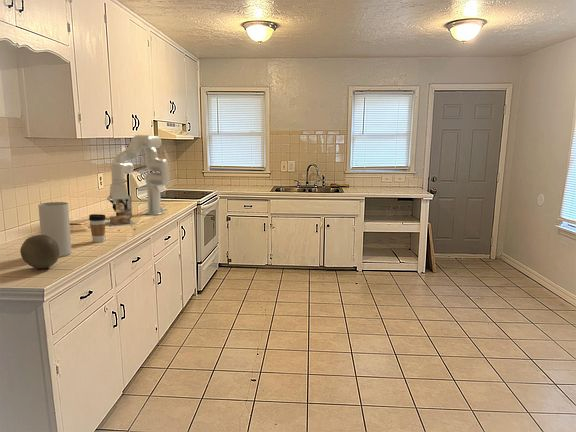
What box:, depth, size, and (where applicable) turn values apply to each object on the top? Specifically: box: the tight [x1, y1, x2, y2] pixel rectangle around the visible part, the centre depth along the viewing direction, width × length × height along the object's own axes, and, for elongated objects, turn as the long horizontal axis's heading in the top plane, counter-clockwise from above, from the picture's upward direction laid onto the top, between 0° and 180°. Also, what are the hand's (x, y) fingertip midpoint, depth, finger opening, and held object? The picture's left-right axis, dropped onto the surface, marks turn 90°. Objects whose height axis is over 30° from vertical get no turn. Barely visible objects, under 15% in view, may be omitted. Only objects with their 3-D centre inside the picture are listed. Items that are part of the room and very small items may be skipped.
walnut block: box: [109, 215, 131, 225], centre depth 275 cm, size 10×10×4 cm
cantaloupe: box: [19, 234, 60, 270], centre depth 180 cm, size 14×14×15 cm
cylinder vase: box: [37, 201, 72, 258], centre depth 202 cm, size 12×12×25 cm
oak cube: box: [113, 203, 124, 214], centre depth 274 cm, size 5×5×5 cm
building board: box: [105, 219, 137, 228], centre depth 275 cm, size 17×17×2 cm
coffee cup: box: [88, 213, 107, 244], centre depth 231 cm, size 8×8×15 cm
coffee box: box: [115, 195, 133, 218], centre depth 298 cm, size 9×6×16 cm
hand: (119, 209), depth 274 cm, fingers closed on oak cube, 5 cm apart
